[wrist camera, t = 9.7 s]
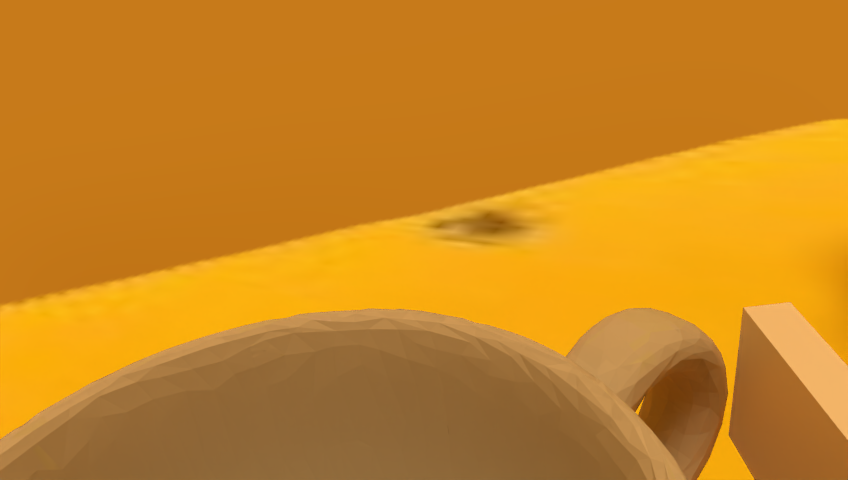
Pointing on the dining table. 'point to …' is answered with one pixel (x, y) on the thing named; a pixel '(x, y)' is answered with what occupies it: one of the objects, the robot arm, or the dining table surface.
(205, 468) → the teacup
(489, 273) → the dining table surface
